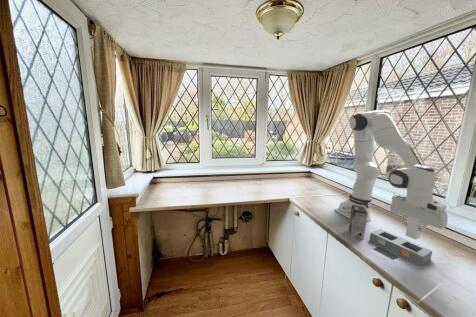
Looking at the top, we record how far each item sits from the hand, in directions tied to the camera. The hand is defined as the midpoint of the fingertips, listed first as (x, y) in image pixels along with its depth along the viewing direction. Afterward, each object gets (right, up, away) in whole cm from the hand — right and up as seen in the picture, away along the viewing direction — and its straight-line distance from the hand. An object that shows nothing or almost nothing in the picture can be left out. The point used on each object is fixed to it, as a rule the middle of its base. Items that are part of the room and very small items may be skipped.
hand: (413, 228), depth 93 cm
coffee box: (-16, -11, +20) cm, 28 cm away
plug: (0, -4, +1) cm, 4 cm away
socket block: (-2, -13, +7) cm, 15 cm away
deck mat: (-11, -14, +3) cm, 18 cm away
